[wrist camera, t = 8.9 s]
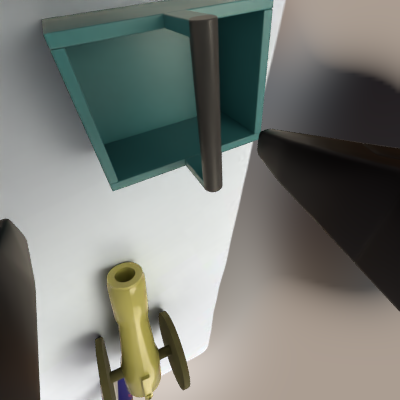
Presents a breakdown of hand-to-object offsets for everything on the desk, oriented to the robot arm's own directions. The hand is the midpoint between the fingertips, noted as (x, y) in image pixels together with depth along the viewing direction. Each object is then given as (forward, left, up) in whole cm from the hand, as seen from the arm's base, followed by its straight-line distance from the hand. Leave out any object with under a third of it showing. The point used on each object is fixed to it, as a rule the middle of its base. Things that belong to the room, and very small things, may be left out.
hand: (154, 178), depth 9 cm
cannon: (-32, +7, -13) cm, 35 cm away
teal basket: (-1, -4, -13) cm, 13 cm away
